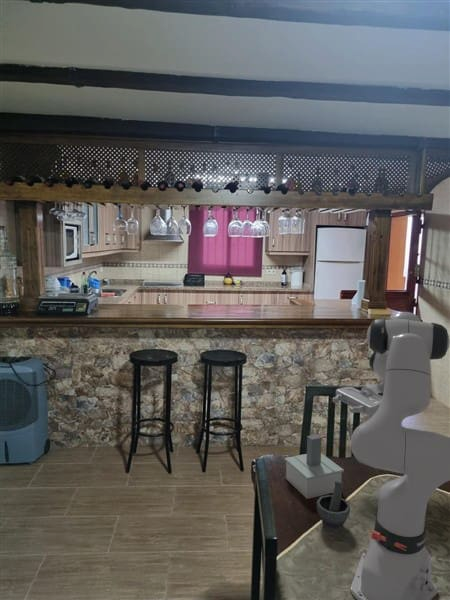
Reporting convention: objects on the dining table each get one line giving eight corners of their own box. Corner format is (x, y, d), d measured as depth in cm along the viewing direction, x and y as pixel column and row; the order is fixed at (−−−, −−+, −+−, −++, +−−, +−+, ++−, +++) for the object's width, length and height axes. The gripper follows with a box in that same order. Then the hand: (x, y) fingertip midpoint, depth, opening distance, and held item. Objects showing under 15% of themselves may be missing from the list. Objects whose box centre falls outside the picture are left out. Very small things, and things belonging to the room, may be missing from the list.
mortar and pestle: (342, 540, 122) (344, 500, 120) (311, 528, 127) (313, 490, 126) (353, 520, 131) (355, 483, 130) (325, 509, 136) (326, 474, 135)
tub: (317, 471, 160) (318, 454, 160) (340, 490, 147) (341, 471, 147) (285, 478, 155) (286, 460, 154) (307, 498, 142) (307, 479, 142)
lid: (318, 457, 160) (319, 426, 159) (343, 476, 147) (345, 442, 145) (284, 463, 155) (285, 431, 154) (307, 484, 141) (308, 449, 140)
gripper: (352, 380, 167) (324, 387, 162) (391, 399, 149) (361, 407, 143) (352, 395, 168) (324, 403, 163) (391, 415, 150) (361, 424, 144)
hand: (341, 405), depth 153 cm, fingers open, 8 cm apart
